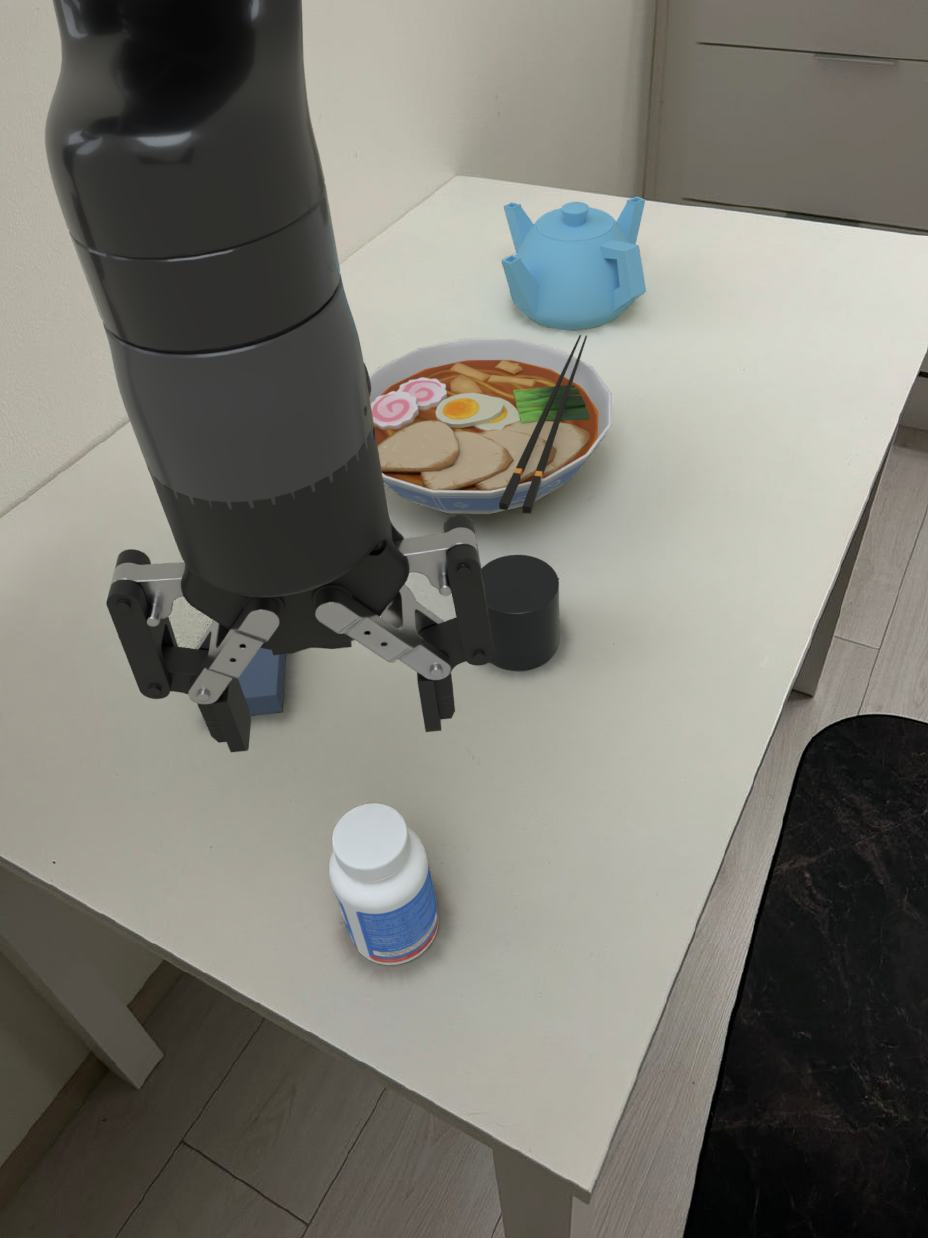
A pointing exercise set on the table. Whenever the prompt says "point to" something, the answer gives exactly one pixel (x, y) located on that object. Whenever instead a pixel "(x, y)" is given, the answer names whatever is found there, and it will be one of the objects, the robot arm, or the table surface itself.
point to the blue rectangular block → (264, 682)
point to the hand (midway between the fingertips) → (338, 726)
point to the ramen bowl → (486, 422)
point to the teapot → (575, 264)
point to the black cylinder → (522, 611)
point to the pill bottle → (383, 884)
